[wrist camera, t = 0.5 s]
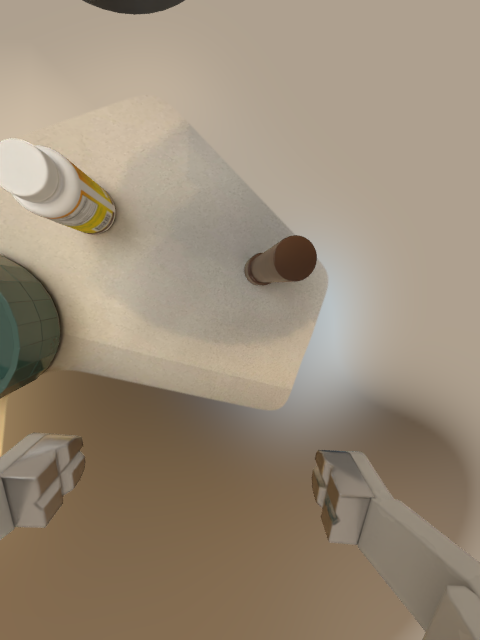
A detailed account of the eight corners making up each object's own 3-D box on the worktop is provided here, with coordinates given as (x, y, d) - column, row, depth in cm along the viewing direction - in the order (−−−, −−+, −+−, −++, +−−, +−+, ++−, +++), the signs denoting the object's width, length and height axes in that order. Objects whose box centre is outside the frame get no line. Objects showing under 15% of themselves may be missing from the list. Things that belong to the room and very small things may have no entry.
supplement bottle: (66, 182, 26) (-29, 117, 16) (117, 188, 27) (57, 130, 16) (68, 233, 27) (-21, 202, 17) (117, 238, 27) (60, 211, 17)
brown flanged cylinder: (241, 259, 29) (264, 236, 16) (269, 252, 30) (316, 225, 16) (247, 287, 30) (275, 290, 16) (275, 281, 30) (324, 279, 17)
